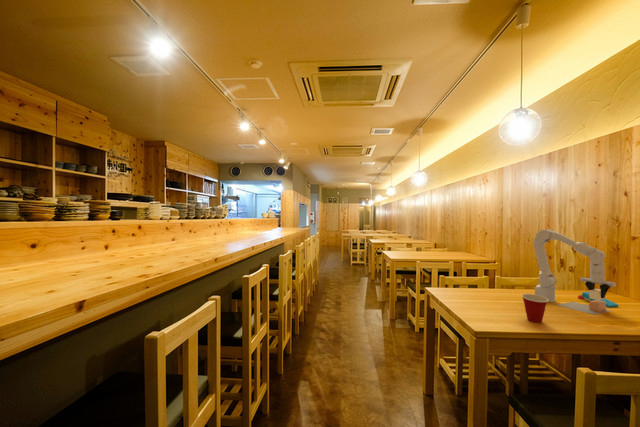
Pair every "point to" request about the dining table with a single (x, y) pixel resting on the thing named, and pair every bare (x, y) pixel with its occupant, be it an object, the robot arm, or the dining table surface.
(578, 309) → the slate baseplate
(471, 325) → the dining table surface
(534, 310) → the plastic cup
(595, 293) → the cream brick
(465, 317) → the dining table surface
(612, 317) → the dining table surface
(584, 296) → the teal bar
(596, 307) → the terracotta base brick
